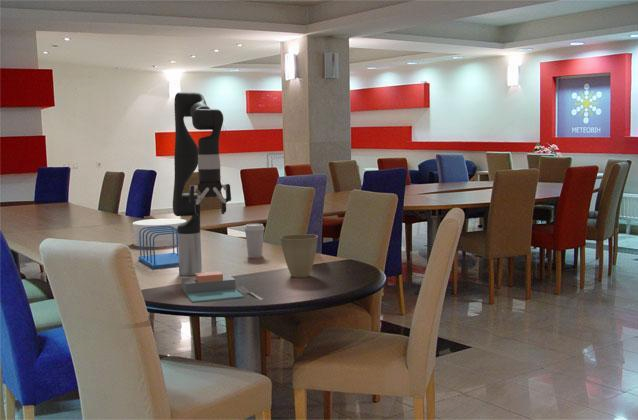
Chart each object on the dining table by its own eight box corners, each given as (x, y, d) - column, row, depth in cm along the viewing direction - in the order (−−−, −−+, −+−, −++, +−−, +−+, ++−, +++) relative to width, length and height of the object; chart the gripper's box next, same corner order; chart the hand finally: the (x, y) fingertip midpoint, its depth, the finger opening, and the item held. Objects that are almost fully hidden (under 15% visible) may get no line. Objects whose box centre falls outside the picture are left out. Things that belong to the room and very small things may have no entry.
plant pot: (315, 271, 287) (314, 233, 286) (321, 278, 273) (320, 238, 271) (279, 273, 285) (278, 234, 283) (283, 280, 270) (282, 240, 268)
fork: (264, 304, 234) (264, 299, 234) (235, 291, 255) (235, 286, 255) (273, 303, 236) (273, 298, 236) (243, 290, 257) (243, 285, 257)
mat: (186, 295, 248) (186, 293, 248) (235, 290, 254) (235, 289, 254) (192, 302, 237) (192, 301, 237) (243, 297, 243) (243, 296, 243)
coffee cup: (252, 259, 317) (252, 226, 315) (240, 256, 324) (239, 224, 322) (269, 256, 323) (268, 224, 322) (257, 254, 330) (256, 222, 329)
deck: (181, 289, 258) (181, 278, 257) (229, 284, 264) (228, 274, 263) (186, 294, 248) (185, 283, 248) (235, 290, 254) (235, 279, 254)
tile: (195, 279, 255) (195, 273, 255) (219, 277, 258) (219, 271, 258) (198, 282, 249) (198, 276, 249) (223, 280, 252) (222, 274, 252)
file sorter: (138, 260, 319) (137, 227, 317) (175, 256, 327) (174, 224, 326) (153, 269, 297) (152, 234, 296) (192, 265, 306) (191, 230, 304)
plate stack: (170, 237, 390) (169, 217, 389) (197, 242, 370) (196, 221, 368) (124, 243, 371) (123, 222, 370) (150, 249, 351) (149, 226, 350)
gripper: (227, 166, 245) (228, 212, 246) (186, 167, 240) (188, 214, 241) (232, 167, 238) (233, 214, 239) (190, 168, 233) (192, 216, 234)
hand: (210, 214), depth 240 cm, fingers open, 8 cm apart
